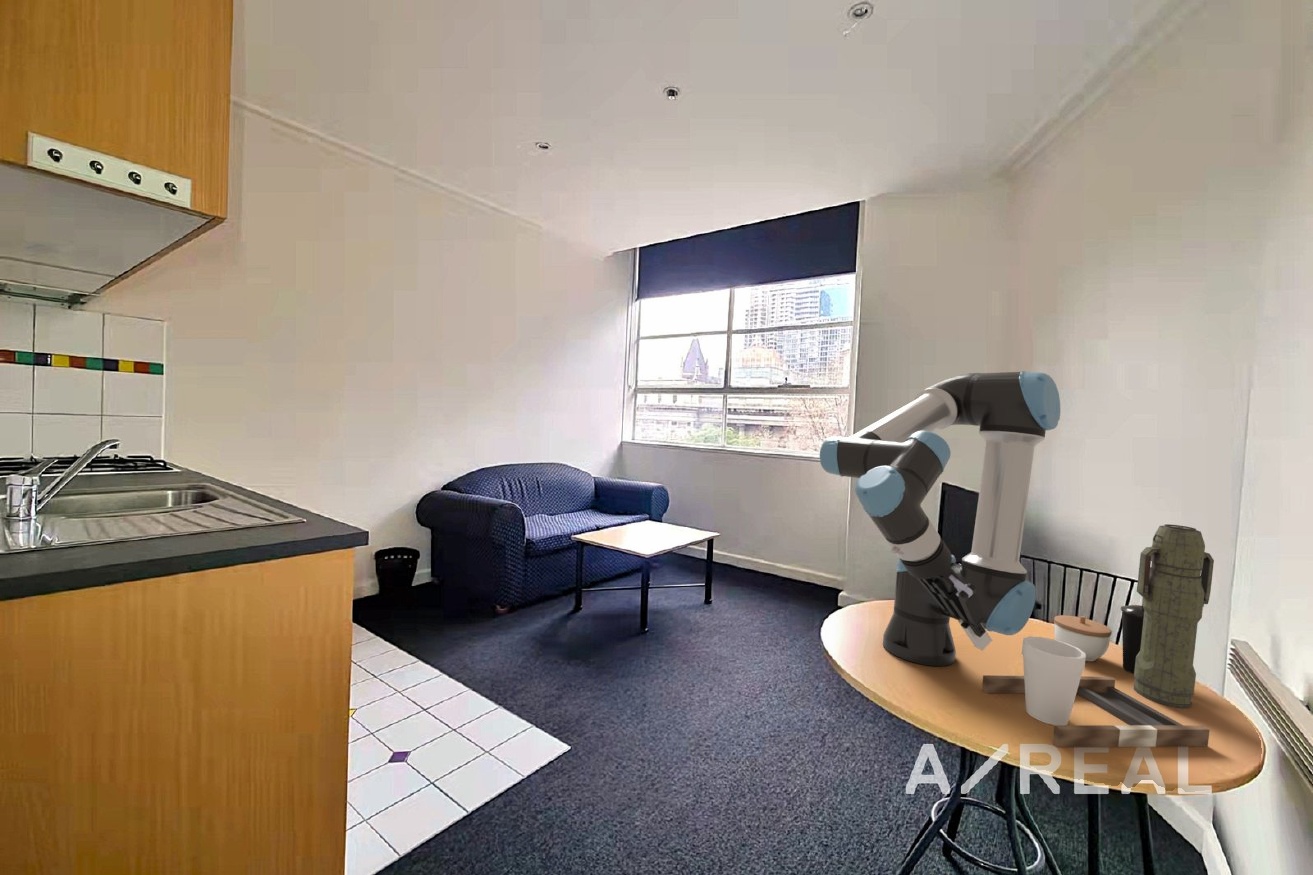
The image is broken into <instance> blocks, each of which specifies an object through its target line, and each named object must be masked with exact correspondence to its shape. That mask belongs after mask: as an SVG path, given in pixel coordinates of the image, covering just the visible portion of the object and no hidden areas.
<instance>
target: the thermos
mask: <svg viewBox="0 0 1313 875" xmlns="http://www.w3.org/2000/svg"><path fill="white" fill-rule="evenodd" d="M1205 549H1206V543H1205V540H1204V538H1203V534H1202V531H1201V530H1197V528H1195V527H1191V526H1185V525H1184V526H1183V525H1179V524H1178V525H1177V524H1171V523H1170V524H1163V525H1159V526H1158V528H1157V529H1156V531H1155V533H1154V535H1153V537H1152V545H1151V546H1147V547H1144V549H1143V550H1142V551H1141V552H1140V556H1139V557H1140V558H1139V564H1138V565H1139V567H1138V577H1137V584H1136V585H1137V587H1136V592H1137V594H1139V595H1140V596H1141V598H1142V599H1143V600H1141V606H1143V608H1144V620H1143V629H1142V639H1141V648H1140V652H1139V653H1138V655H1137V656H1136V662H1135V672H1134V674H1133V678H1134V684H1133V690H1134V691H1135V692H1136V693H1137V694H1138V695H1140V696H1142V697H1143V698H1146V699H1148V700H1150V701H1153V702H1155V703H1157V704H1160V705H1165V706H1168V707H1173V708H1180V709H1189V708H1191V707H1192V703H1193V702H1192V699H1193V695H1194V694H1195V686H1196V679H1197V678H1196V677H1197V673H1196V670H1195V668H1194V659H1195V651H1196V643H1197V642H1196V640H1197V631H1198V623H1199V622H1200V620H1201V619H1202V617H1203V610H1204V609H1203V608H1204V606H1205V605H1208V604H1209V602H1210V601H1209V600H1210V597H1211V590H1212V589H1211V588H1212V579H1213V571H1214V562H1215V560H1214V558H1213V557H1212V555H1211V554H1210V553H1208V552H1205V551H1206V550H1205Z"/></svg>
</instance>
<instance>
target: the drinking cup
mask: <svg viewBox="0 0 1313 875" xmlns="http://www.w3.org/2000/svg"><path fill="white" fill-rule="evenodd" d="M1142 600H1143V598H1142ZM1142 600H1141V601H1142ZM1120 610H1121V624H1122V625H1121V626H1122V627H1121V630H1122V634H1121V635H1122V668H1123V670H1124V671H1126V672H1128V673H1131V674H1133V675H1134V672H1135V662H1136V656H1137V655H1138V653H1139V652H1140V648H1141V639H1142V629H1143V620H1144V608H1143V606H1142V604H1141V605H1140V604H1139V605H1138V604H1131V605H1121V607H1120Z"/></svg>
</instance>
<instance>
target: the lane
mask: <svg viewBox="0 0 1313 875" xmlns="http://www.w3.org/2000/svg"><path fill="white" fill-rule="evenodd" d="M981 683H982V684H981V691H983V692H984V693H985V694H1025V682H1024V675H996V674H995V675H992V674H991V675H988V674H987V675H984V674H983V676H982V682H981ZM1115 685H1116V679H1115V678H1113V677H1112V676H1084V675H1083V676H1082V675H1081V678H1080V682H1079V686H1078V689H1077V693H1076V695H1080V697H1082V698H1084V699H1086V700H1088V701H1089V702H1091V703H1093V704H1094V705H1096V706H1097V707H1099V708H1101V709H1102V710H1104V711H1105V712H1108V713H1109V714H1110V715H1112V716H1114V717H1116V718H1117V719H1119V720H1120V721H1123V722H1124V723H1126V724H1125V725H1122V724H1121V725H1119V724H1117V725H1115V724H1114V725H1113V724H1112V725H1110V724H1109V725H1098V724H1097V725H1096V724H1095V725H1094V724H1093V725H1091V724H1089V725H1086V724H1085V725H1081V724H1080V725H1073V724H1072V725H1071V724H1070V725H1069V724H1067V725H1053V726H1054V727H1053V735H1052V744H1054V745H1055V746H1057V747H1058V748H1089V747H1090V748H1112V747H1113V748H1119V747H1120V748H1127V747H1128V748H1133V747H1134V748H1141V747H1143V748H1145V747H1146V748H1147V747H1149V748H1150V747H1151V748H1153V747H1154V748H1156V747H1157V748H1158V747H1159V748H1161V747H1164V748H1165V747H1175V748H1176V747H1181V748H1182V747H1186V748H1187V747H1191V748H1192V747H1209V737H1210V728H1208V727H1206V726H1204V725H1200V724H1199V725H1194V724H1193V725H1190V724H1189V725H1188V724H1187V725H1185V724H1182V723H1180V722H1178V721H1176V720H1174V719H1173V718H1171V717H1169V716H1168V715H1165V714H1163V713H1161V711H1158V710H1156V709H1155V708H1152V707H1150V706H1149V705H1147V704H1145V703H1144V702H1141V701H1140V700H1138V699H1136V698H1134V697H1132V696H1131V695H1128V694H1127V693H1125V692H1123V691H1122V690H1120V689H1117V688H1115ZM1127 724H1128V725H1127Z"/></svg>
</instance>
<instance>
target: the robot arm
mask: <svg viewBox="0 0 1313 875" xmlns="http://www.w3.org/2000/svg"><path fill="white" fill-rule="evenodd" d="M1060 398H1061V397H1060V393H1059V390H1058V386H1057V384H1056V381H1054V379H1053V377H1051V376H1050V374H1047V373H1044V372H1036V371H1035V372H1031V371H1025V370H1024V371H1011V372H1010V371H1007V372H981V373H980V372H974V373H973V372H972V373H971V372H970V373H965V374H964V373H963V374H960V375H957V376H953V377H950V378H947V379H945V380H942V381H940V382H937V383H936V384H932V385H931V386H929V387H927V388H924V389H923V390H922V391H920V392H919V393H918V394H917V395H916V396H915V398H914V400H913V401H911V402H909V403H908V404H905V405H904V406H902V407H901V408H899V409H897V410H895V411H892V413H890V414H888V415H886V416H884V417H883V418H881V419H879V420H877V421H876V422H874V423H871V424H870V425H869V426H867V427H865V428H862V429H861V430H859V431H857V432H856V433H854V434H851V435H850V436H843V435H839V436H830V437H827V438H826V439H825V440H824V441H823V443H822V444H821V447H820V450H819V460H820V465H821V467H822V469H823V470H824V472H826V473H828V474H832V475H834V476H835V475H836V476H839V477H842V478H844V477H846V478H855V479H858V480H857V481H856V484H855V487H854V492H855V495H856V497H857V499H858V501H859V502H860V504H861V506H862V508H863V510H864V512H865V513H866V514H867V515H868V517H870V519H871V520H872V522H873V523H874V524H875V526H876V527H877V529H878V530H879V531H880V533H881V535H882V536H883V537H884V539H885V540H886V541H887V543H888V544H889V546H890V547H891V548H890V552H892V553H893V554H896V556H897V557H898V559H897V560H898V562H897V567H896V569H895V573H896V575H895V577H896V578H895V587H894V588H895V589H894V600H893V602H894V603H893V612H892V613H893V614H892V615H891V618H890V620H889V622H888V624H887V626H886V629H885V630H884V633H883V636H882V638H883V639H882V645H883V647H884V649H885V651H886V650H887V651H888V652H889V653H890V654H892V655H894V656H896V657H897V658H901V659H903V660H905V661H908V662H911V663H913V664H919V665H922V666H923V665H925V666H931V667H932V666H933V667H946V666H951V665H952V664H954V663H955V661H956V655H957V652H956V650H957V649H956V646H955V641H954V637H953V634H952V630H951V627H950V626H951V625H950V620H951V619H954V620H956V621H958V622H957V623H958V624H959V625H960V626H961V628H962V630H963V632H965V634H966V636H967V637H968V639H969V640H970V642H971V643H972V644H973V646H974V647H975V648H977V649H978V650H979V651H984V649H986V647H987V646H989V644H991V643H992V641H993V639H992V637H991V636H990V634H989V633H988V632H990V633H991V632H994V633H996V634H1001V635H1005V636H1013V635H1016V634H1018V633H1020V632H1021V630H1023V628H1024V627H1025V626H1026V625H1027V623H1028V622H1029V619H1030V617H1031V615H1032V612H1033V610H1034V607H1035V603H1036V600H1037V599H1036V598H1037V593H1036V592H1037V591H1036V590H1037V589H1036V586H1035V584H1034V583H1033V582H1030V580H1027V573H1028V571H1027V570H1026V568H1025V567H1024V565H1022V563H1021V562H1020V557H1021V549H1022V543H1023V535H1024V526H1025V520H1026V513H1027V505H1028V498H1029V489H1030V483H1031V474H1032V467H1033V461H1034V453H1035V447H1036V446H1037V445H1038V444H1040V443H1041V442H1042V441H1044V440H1045V438H1046V431H1051V430H1055V429H1056V428H1057V427H1058V425H1059V421H1060V419H1061V418H1060V417H1061V400H1060ZM956 425H957V426H958V425H961V426H962V425H963V426H964V425H965V426H975V427H976V426H977V427H979V431H978V433H979V435H980V436H981V437H982V438H983V439H984V441H985V447H984V455H983V456H984V457H983V462H982V471H981V478H980V483H979V484H980V485H979V493H978V499H977V500H978V501H977V508H976V515H975V521H974V522H975V524H974V529H973V535H972V536H973V538H972V544H971V550H970V551H971V552H969V553H967V555H965V556H964V557H963V556H962V558H961V564H958V563H956V561H957V559H956V557H955V555H954V554H952V552H951V550H950V549H949V548H948V546H947V545H946V543H945V541H944V540H943V539H942V538H941V535H940V534H939V533H938V531H937V529H936V527H935V526H934V525H933V522H931V520H930V518H929V517H928V515H927V514H926V512H925V511H924V510H923V507H922V506H921V505H922V502H924V499H925V498H926V497H927V496H928V494H929V492H930V491H931V489H932V488H933V486H934V485H935V483H936V482H937V480H938V479H939V477H940V476H941V475H942V474H943V473H944V471H945V467H946V466H947V464H948V462H949V460H950V459H951V454H952V453H951V452H952V451H951V449H950V445H949V444H948V442H947V441H946V440H945V439H944V438H943V437H942V436H940V435H938V434H937V433H935V432H933V431H935V430H944V429H947V428H948V427H950V426H956ZM950 618H951V619H950Z"/></svg>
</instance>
